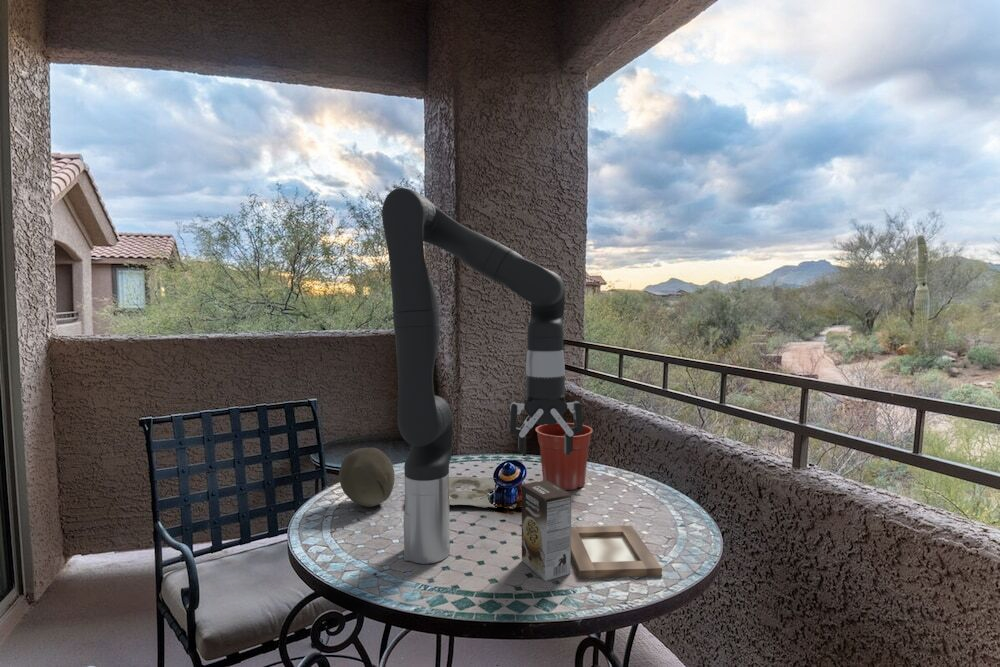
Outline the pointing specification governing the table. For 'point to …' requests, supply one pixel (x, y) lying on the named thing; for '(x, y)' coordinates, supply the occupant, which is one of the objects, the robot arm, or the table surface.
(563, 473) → the flower pot
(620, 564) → the walnut frame
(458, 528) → the table surface
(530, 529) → the coffee box
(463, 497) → the stone relief
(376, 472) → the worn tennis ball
